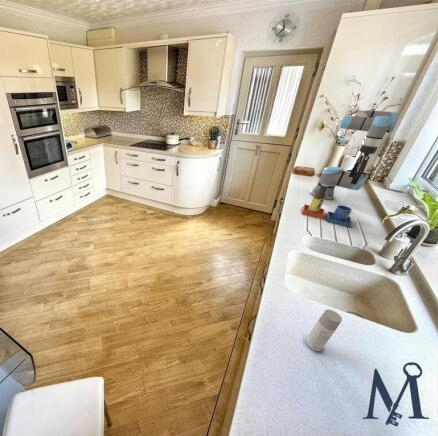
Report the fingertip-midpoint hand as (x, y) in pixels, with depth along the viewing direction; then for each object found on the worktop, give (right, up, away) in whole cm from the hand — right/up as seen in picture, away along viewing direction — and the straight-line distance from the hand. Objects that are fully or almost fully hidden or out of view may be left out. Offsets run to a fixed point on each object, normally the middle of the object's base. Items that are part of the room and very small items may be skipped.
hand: (351, 180), depth 144 cm
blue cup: (-2, -25, +9) cm, 26 cm away
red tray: (-12, -20, +17) cm, 29 cm away
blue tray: (-2, -25, +9) cm, 27 cm away
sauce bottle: (-12, -19, +17) cm, 29 cm away
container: (-71, -66, -66) cm, 118 cm away
